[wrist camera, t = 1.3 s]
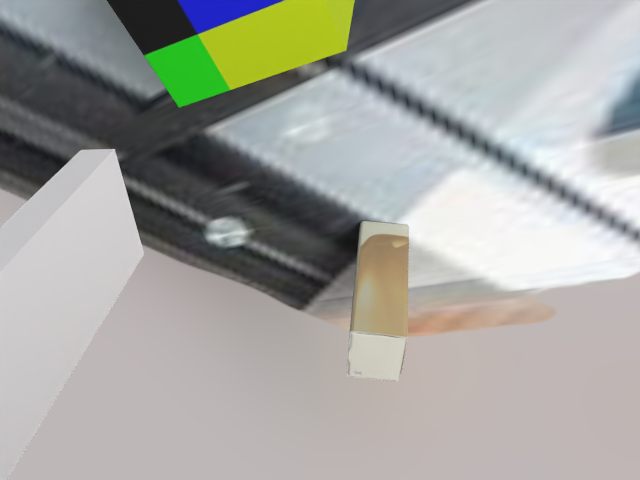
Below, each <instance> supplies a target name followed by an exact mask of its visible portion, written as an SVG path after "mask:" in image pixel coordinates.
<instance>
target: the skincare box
mask: <svg viewBox="0 0 640 480" xmlns="http://www.w3.org/2000/svg"><path fill="white" fill-rule="evenodd" d="M408 249H409V226H408V225H401V224H392V223H382V222H371V221H362V222H361V224H360V231H359V241H358V252H357V261H356V272H355V282H354V293H353V302H352V313H351V324H350V336H349V348H348V363H347V376H349V377H358V378H368V379H376V380H386V381H399V379H400V376H401V373H402V369H403V364H404V358H405V352H406V345H407V327H408Z"/></svg>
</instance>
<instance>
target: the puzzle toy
mask: <svg viewBox="0 0 640 480" xmlns="http://www.w3.org/2000/svg"><path fill="white" fill-rule="evenodd" d="M107 1H108V3H109V4H110V6H111V7H112V9H113V10H114V12H115V13H116V15H117V16H118V18H119V19H120V20H121V22H122V23H123V25H124V26H125V28H126V29H127V31H128V32H129V34H130V35H131V37H132V38H133V40H134V41H135V43H136V44H137V46H138V47H139V49H140V50H141V52H142V53H143V55H144V56H145V58H146V59H147V61H148V62H149V64H150V65H151V67H152V68H153V70H154V71H155V72H156V74H157V75H158V77H159V78H160V80H161V81H162V83H163V84H164V86H165V87H166V89H167V90H168V92H169V93H170V95H171V96H172V98H173V99H174V101H175V102H176V104H177V105H178V107H182V106H185V105H188V104H191V103H194V102H197V101H200V100H203V99H205V98H208V97H211V96H214V95H217V94H220V93H223V92H226V91H229V90H232V89H235V88H238V87H241V86H243V85H246V84H249V83H252V82H255V81H258V80H261V79H264V78H267V77H270V76H273V75H276V74H279V73H281V72H284V71H287V70H290V69H293V68H296V67H299V66H302V65H305V64H308V63H311V62H314V61H317V60H319V59H322V58H325V57H328V56H331V55H334V54H337V53H340V52H343V51H346V48H347V42H348V36H349V30H350V24H351V18H352V12H353V6H354V1H355V0H107Z"/></svg>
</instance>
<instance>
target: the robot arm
mask: <svg viewBox="0 0 640 480" xmlns="http://www.w3.org/2000/svg"><path fill="white" fill-rule="evenodd" d="M143 255H144V252H143V248H142V245H141V241H140V238H139V234H138V231H137V227H136V223H135V220H134V216H133V213H132V209H131V206H130V202H129V199H128V195H127V192H126V188H125V184H124V181H123V177H122V174H121V170H120V167H119V163H118V160H117V156H116V153H115V149H98V150H80V151H79V152H78V153H77V154H76V155H75V156H74V157H73V158H72V159H71V160H70V161H69V162H68V163H67V164H66V165H65V166H64V167H63V168H62V169H61V170H60V171H59V172H57V173H56V174H55V175H54V176H53V177H52V178H51V179H50V180H49V181H48V182H47V183H46V184H45V185H44V186H43V187H42V188H41V189H40V190H39V191H38V192H37V193H36V194H34V195H33V196H32V197H31V198H30V199H29V200H28V201H27V202H26V203H25V204H24V205H23V206H22V207H21V208H20V209H19V210H18V211H17V212H16V213H15V214H14V215H13V216H11V218H9V219H8V220H7V221H6V222H5V223H4V224H3V225H2V226H1V227H0V480H7V479H8V477H9V476H10V474H11V472H12V471H13V469H14V467H15V466H16V464H17V462H18V461H19V459H20V458H21V456H22V454H23V452H24V451H25V449H26V448H27V446H28V444H29V443H30V441H31V439H32V438H33V436H34V434H35V433H36V431H37V430H38V428H39V426H40V425H41V423H42V421H43V420H44V418H45V416H46V415H47V413H48V411H49V410H50V408H51V406H52V405H53V403H54V402H55V400H56V398H57V397H58V395H59V393H60V392H61V390H62V388H63V387H64V385H65V383H66V382H67V380H68V378H69V377H70V375H71V374H72V372H73V370H74V369H75V367H76V365H77V364H78V362H79V360H80V359H81V357H82V355H83V354H84V352H85V350H86V349H87V347H88V346H89V344H90V342H91V340H92V339H93V337H94V336H95V334H96V332H97V331H98V329H99V327H100V325H101V324H102V322H103V321H104V319H105V317H106V316H107V314H108V312H109V311H110V309H111V308H112V306H113V304H114V303H115V301H116V299H117V298H118V296H119V294H120V293H121V291H122V289H123V288H124V286H125V285H126V283H127V281H128V280H129V278H130V276H131V275H132V273H133V271H134V270H135V268H136V266H137V265H138V263H139V262H140V260H141V258H142V257H143Z"/></svg>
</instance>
